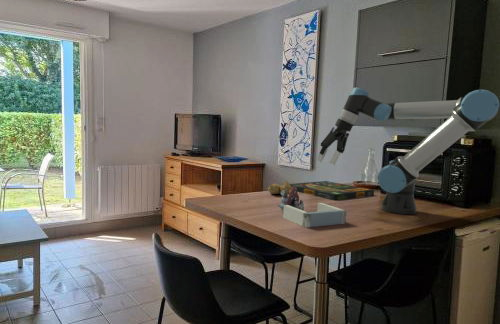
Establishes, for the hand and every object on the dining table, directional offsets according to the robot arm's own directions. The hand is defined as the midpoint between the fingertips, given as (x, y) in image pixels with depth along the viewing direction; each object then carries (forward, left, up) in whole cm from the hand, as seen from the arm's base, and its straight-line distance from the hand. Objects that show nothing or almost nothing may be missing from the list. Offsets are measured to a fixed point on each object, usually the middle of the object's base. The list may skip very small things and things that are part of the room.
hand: (325, 162), depth 176 cm
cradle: (-10, +30, -20) cm, 37 cm away
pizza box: (+14, -38, -21) cm, 45 cm away
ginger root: (+28, -8, -21) cm, 36 cm away
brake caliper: (+3, +24, -21) cm, 32 cm away
